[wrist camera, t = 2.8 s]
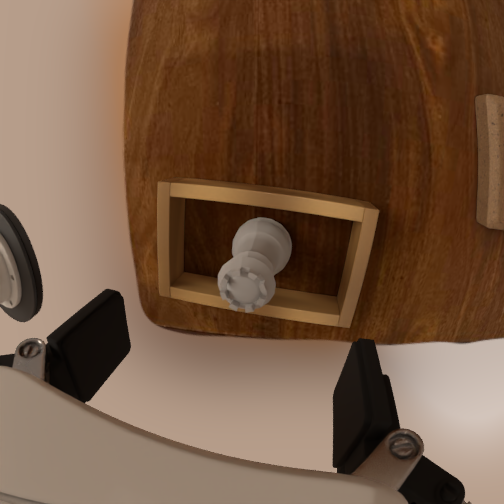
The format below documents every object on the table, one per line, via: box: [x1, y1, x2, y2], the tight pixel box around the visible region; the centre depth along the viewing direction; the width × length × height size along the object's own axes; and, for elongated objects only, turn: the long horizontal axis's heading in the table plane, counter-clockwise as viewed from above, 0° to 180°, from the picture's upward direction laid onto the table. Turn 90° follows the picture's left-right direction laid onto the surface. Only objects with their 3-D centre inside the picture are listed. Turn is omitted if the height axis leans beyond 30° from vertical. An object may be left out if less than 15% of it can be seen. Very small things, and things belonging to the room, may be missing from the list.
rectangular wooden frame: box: [157, 177, 379, 328], centre depth 21 cm, size 15×9×3 cm, turn 85°
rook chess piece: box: [218, 217, 292, 313], centre depth 19 cm, size 4×4×8 cm
